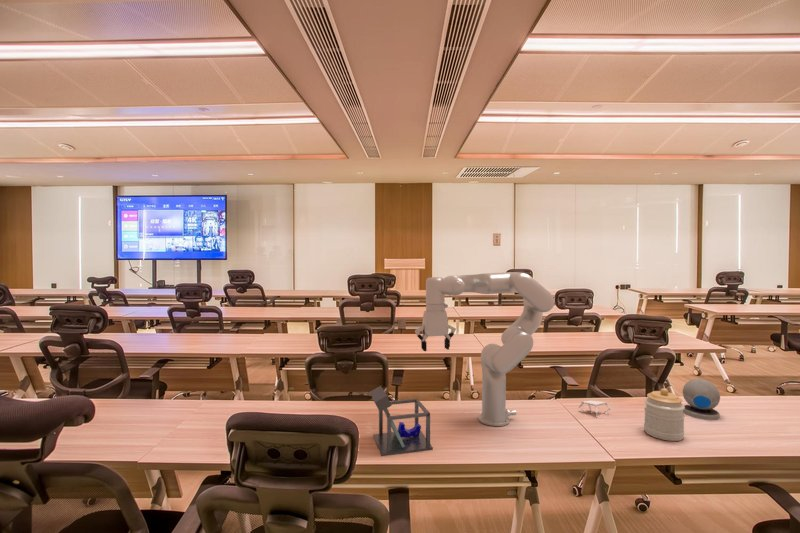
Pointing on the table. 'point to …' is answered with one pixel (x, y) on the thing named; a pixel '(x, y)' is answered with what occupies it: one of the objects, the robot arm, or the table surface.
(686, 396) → the webcam
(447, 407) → the table surface
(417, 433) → the cable holder
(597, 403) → the white legged frame
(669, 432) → the jar
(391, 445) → the stand
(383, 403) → the trapdoor
